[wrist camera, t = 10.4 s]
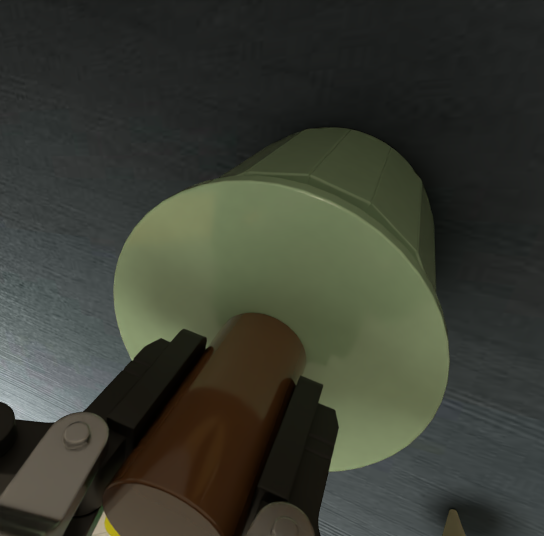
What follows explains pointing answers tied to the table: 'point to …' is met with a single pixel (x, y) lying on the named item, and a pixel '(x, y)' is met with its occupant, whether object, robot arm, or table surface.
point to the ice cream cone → (453, 525)
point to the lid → (268, 343)
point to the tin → (356, 181)
